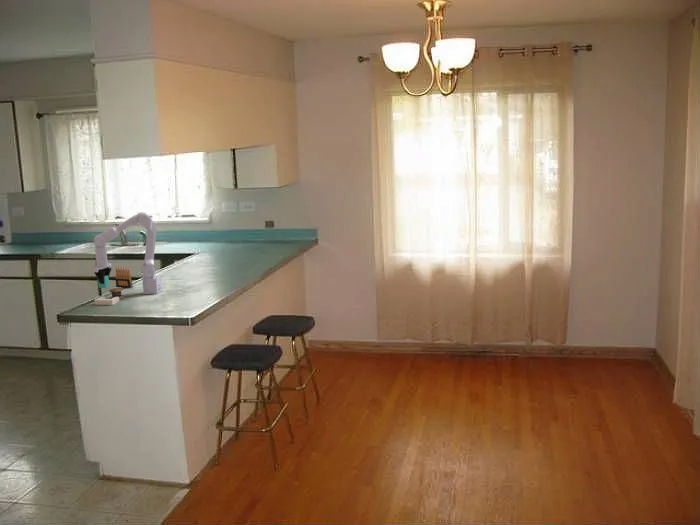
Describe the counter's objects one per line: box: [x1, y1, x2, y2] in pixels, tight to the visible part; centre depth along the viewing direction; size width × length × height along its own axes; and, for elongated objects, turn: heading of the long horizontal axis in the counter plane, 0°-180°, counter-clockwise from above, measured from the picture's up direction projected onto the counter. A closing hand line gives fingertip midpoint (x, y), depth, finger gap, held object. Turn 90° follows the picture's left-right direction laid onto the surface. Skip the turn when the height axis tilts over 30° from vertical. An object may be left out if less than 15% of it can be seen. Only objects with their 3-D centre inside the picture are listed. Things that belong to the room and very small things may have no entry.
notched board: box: [94, 296, 120, 306], centre depth 363 cm, size 10×7×2 cm
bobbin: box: [109, 287, 125, 300], centre depth 372 cm, size 7×7×5 cm
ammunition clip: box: [115, 266, 134, 289], centre depth 397 cm, size 11×2×12 cm, turn 66°
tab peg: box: [97, 275, 110, 289], centre depth 372 cm, size 4×4×6 cm
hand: (104, 282), depth 372 cm, fingers closed on tab peg, 4 cm apart
